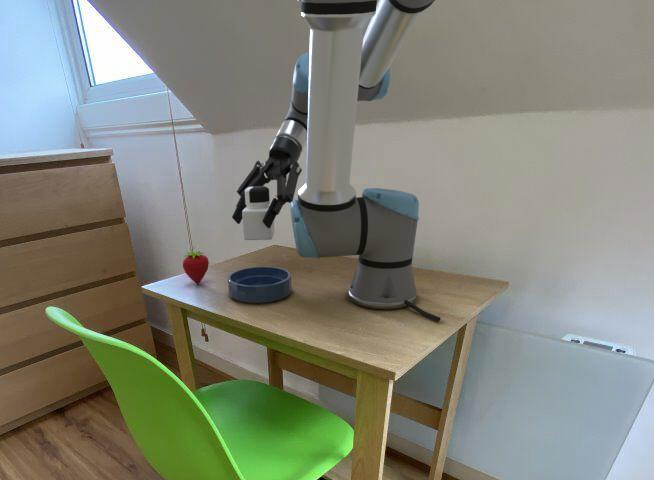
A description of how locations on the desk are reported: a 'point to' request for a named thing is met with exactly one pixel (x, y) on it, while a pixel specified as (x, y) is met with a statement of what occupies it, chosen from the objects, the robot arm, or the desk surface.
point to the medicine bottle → (256, 214)
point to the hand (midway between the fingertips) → (250, 222)
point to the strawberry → (195, 266)
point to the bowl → (259, 284)
